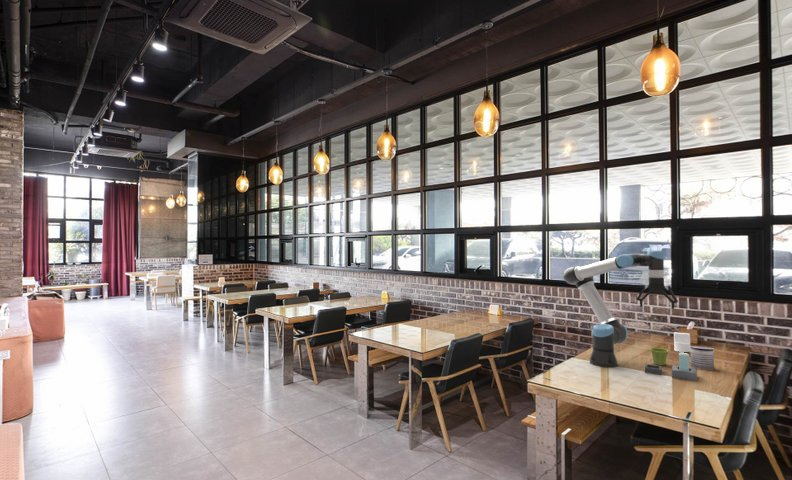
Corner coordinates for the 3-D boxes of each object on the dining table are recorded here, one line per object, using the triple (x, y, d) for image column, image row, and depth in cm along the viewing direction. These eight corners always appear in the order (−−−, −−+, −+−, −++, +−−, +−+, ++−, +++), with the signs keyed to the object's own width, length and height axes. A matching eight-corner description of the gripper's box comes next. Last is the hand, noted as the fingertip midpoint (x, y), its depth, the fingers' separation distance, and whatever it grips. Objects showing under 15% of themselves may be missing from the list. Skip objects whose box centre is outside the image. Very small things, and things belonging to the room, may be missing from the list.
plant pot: (671, 366, 241) (671, 352, 241) (654, 366, 243) (653, 351, 243) (664, 362, 250) (664, 348, 250) (647, 361, 252) (647, 347, 252)
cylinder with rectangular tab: (689, 350, 278) (689, 332, 278) (690, 353, 270) (690, 335, 270) (674, 348, 282) (673, 331, 283) (674, 351, 275) (674, 333, 275)
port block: (672, 377, 221) (671, 369, 222) (672, 372, 230) (672, 364, 230) (697, 381, 215) (696, 373, 215) (696, 375, 224) (696, 367, 224)
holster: (644, 372, 230) (644, 367, 230) (646, 369, 237) (645, 363, 237) (660, 374, 226) (660, 369, 226) (661, 371, 232) (661, 366, 232)
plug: (679, 376, 222) (678, 353, 222) (679, 374, 226) (678, 351, 226) (689, 378, 220) (688, 354, 220) (689, 376, 223) (688, 353, 223)
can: (689, 367, 239) (688, 347, 239) (691, 363, 248) (691, 343, 248) (713, 371, 232) (713, 350, 232) (715, 366, 240) (714, 346, 240)
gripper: (630, 276, 240) (631, 312, 240) (682, 278, 225) (683, 316, 225) (632, 275, 246) (633, 310, 246) (682, 277, 231) (683, 314, 231)
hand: (656, 313), depth 235 cm, fingers open, 13 cm apart
